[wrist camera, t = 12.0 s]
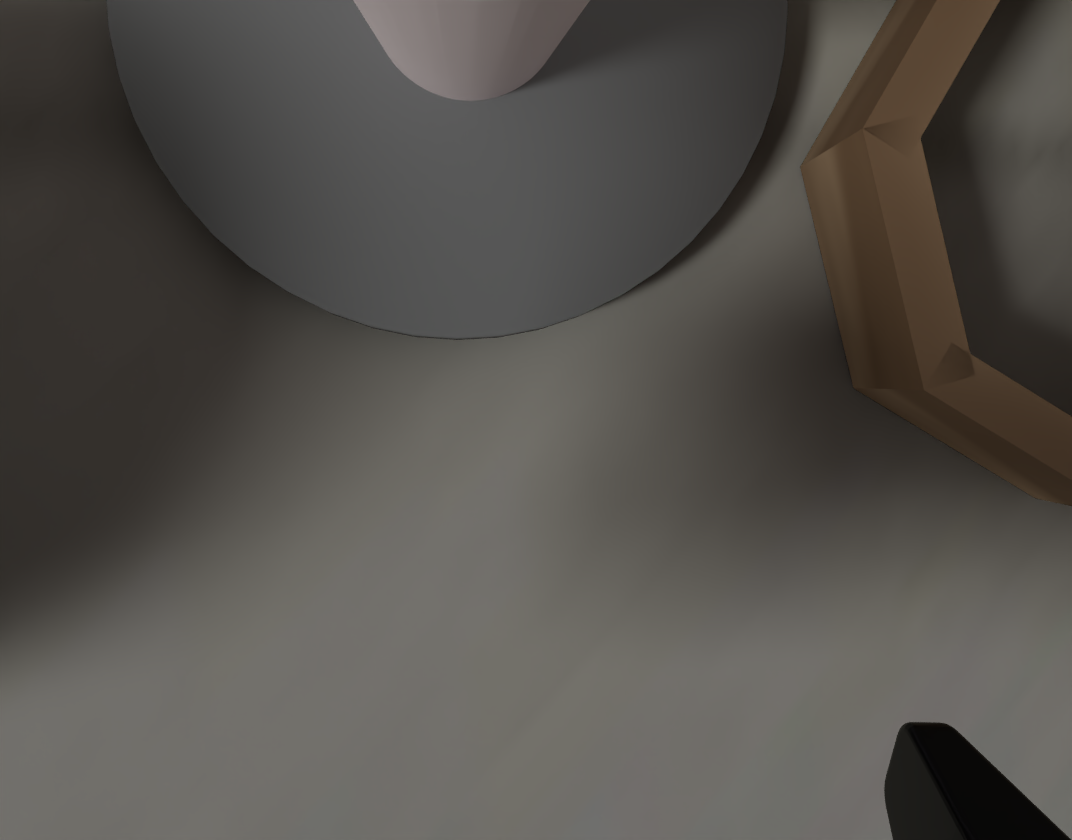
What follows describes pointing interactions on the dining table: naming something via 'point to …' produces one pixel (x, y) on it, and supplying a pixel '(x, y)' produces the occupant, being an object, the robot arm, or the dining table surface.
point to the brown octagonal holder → (918, 257)
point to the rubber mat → (450, 153)
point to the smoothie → (470, 41)
